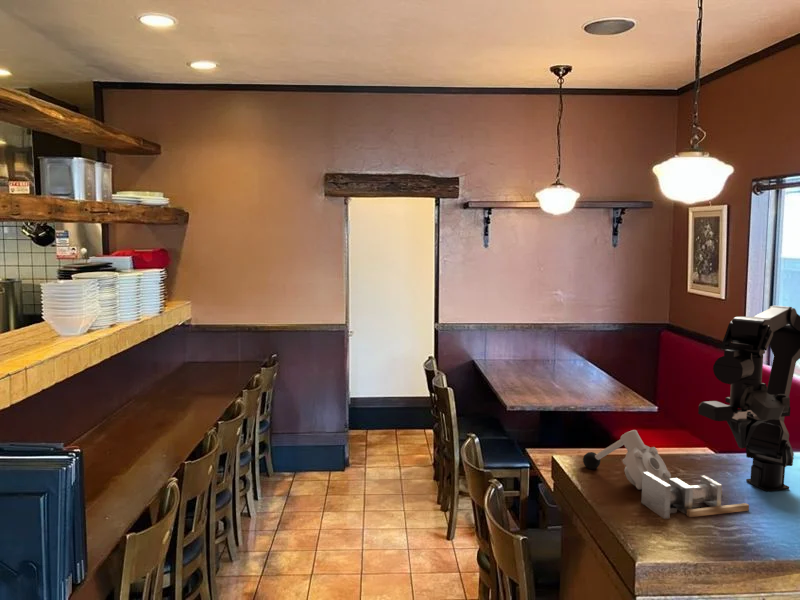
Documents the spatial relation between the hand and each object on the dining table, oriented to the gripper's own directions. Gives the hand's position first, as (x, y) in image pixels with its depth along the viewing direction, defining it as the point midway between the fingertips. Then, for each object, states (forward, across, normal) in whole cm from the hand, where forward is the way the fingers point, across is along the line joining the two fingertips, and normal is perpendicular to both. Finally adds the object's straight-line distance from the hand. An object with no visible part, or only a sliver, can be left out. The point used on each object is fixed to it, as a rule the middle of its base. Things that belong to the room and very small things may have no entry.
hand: (741, 447), depth 139 cm
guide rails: (+13, -7, +2) cm, 15 cm away
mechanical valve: (+13, -16, +19) cm, 29 cm away
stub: (+13, -16, +2) cm, 21 cm away
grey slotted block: (+13, -9, +2) cm, 16 cm away
